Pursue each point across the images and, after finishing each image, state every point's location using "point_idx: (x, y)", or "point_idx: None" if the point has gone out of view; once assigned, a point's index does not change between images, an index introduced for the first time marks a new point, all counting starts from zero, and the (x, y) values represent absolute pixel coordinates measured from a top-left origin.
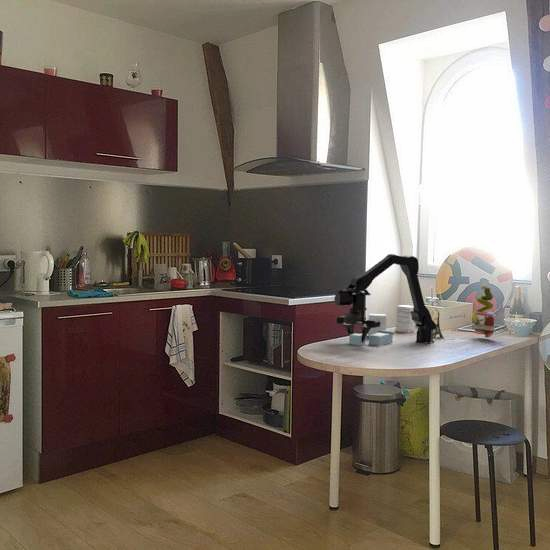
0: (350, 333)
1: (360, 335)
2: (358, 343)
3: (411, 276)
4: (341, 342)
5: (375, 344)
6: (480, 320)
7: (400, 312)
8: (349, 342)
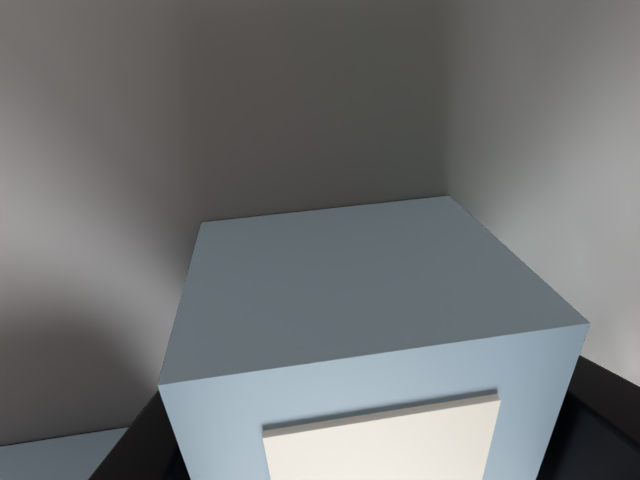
0: (600, 418)
1: (239, 471)
2: (222, 236)
3: None
4: (624, 208)
5: (39, 453)
6: None
7: None
8: (455, 209)
